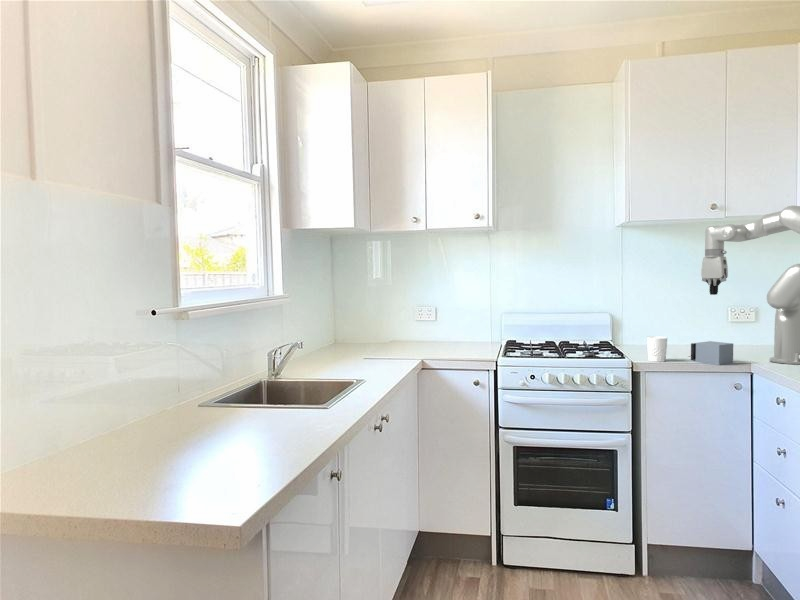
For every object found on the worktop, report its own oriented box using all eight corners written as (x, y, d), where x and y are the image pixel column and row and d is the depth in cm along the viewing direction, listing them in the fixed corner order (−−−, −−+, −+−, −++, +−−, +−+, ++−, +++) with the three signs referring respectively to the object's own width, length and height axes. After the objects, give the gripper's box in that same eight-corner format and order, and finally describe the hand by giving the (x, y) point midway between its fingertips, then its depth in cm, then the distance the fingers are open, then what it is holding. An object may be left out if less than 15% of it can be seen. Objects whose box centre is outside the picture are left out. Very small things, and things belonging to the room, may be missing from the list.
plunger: (729, 360, 245) (730, 344, 244) (714, 363, 239) (714, 346, 239) (706, 357, 254) (706, 341, 253) (690, 360, 248) (691, 343, 248)
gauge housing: (738, 362, 243) (738, 342, 243) (718, 365, 236) (719, 345, 236) (690, 356, 261) (691, 338, 261) (671, 358, 254) (671, 340, 253)
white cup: (655, 362, 244) (655, 338, 243) (642, 359, 251) (642, 336, 251) (671, 361, 246) (671, 337, 246) (658, 359, 254) (658, 335, 253)
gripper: (735, 253, 259) (735, 294, 260) (703, 254, 272) (702, 293, 273) (726, 253, 255) (725, 295, 256) (693, 254, 268) (693, 294, 269)
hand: (713, 294), depth 265 cm, fingers closed
